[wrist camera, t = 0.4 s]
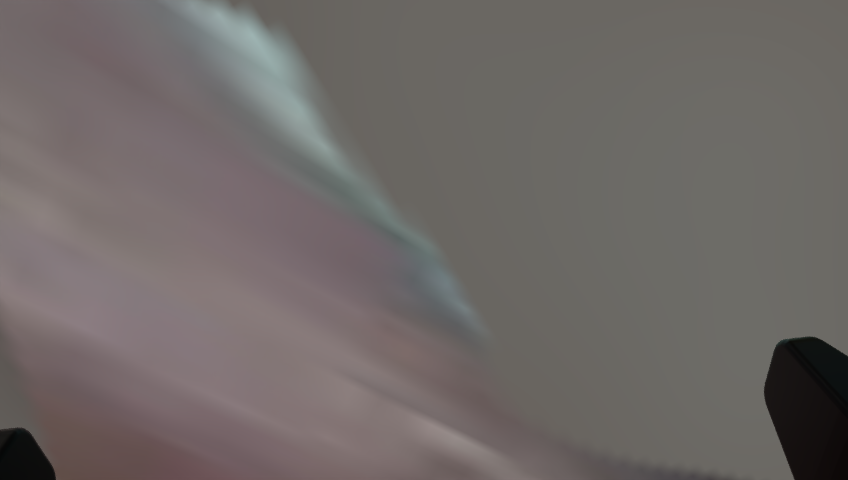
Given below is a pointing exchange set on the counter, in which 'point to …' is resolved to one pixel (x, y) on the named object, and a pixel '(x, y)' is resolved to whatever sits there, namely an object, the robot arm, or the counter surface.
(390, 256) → the counter surface
